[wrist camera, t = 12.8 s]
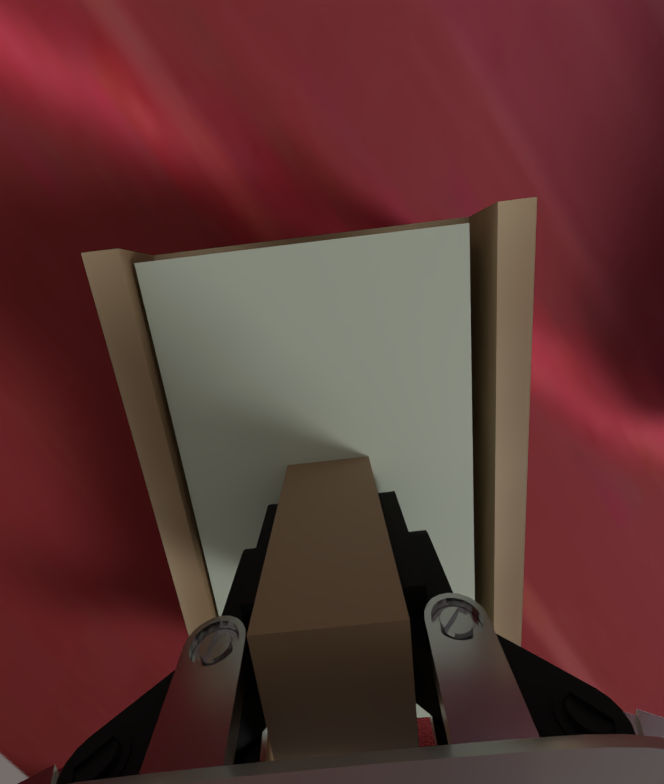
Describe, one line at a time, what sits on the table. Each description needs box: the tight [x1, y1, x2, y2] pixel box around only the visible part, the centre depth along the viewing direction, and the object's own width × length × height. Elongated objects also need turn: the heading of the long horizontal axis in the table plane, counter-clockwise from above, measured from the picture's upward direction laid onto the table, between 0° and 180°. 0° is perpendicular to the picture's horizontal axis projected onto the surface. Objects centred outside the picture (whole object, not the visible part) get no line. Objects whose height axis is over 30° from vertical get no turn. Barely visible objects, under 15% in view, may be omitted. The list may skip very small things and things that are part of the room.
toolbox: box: [81, 197, 537, 762], centre depth 17 cm, size 12×25×9 cm, turn 6°
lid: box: [134, 223, 475, 761], centre depth 10 cm, size 9×18×7 cm, turn 6°
